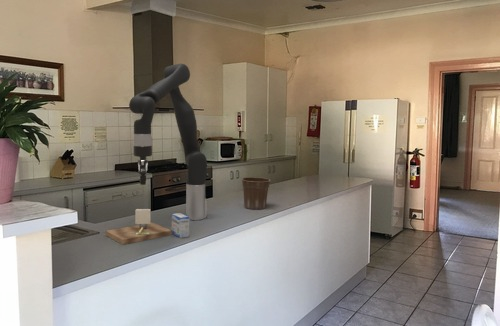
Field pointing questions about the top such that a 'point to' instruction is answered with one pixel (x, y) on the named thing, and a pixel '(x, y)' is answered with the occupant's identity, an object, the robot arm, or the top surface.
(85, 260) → the top surface
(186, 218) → the medicine box
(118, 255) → the top surface
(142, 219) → the toy mallet
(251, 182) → the plant pot
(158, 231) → the brown flat wooden board
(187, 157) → the robot arm
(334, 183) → the top surface
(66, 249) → the top surface
